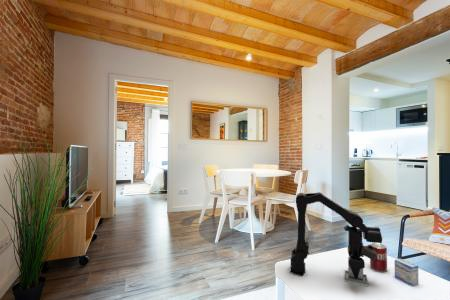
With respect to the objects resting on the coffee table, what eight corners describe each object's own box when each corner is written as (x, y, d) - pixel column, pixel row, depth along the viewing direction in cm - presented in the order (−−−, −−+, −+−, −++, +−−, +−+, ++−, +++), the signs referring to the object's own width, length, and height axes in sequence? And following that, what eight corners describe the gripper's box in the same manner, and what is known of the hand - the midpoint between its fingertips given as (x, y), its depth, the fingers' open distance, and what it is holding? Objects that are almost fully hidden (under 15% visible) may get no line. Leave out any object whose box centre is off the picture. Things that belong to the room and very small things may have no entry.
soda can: (390, 270, 114) (390, 247, 114) (380, 273, 112) (380, 249, 112) (376, 264, 121) (376, 241, 121) (366, 266, 118) (366, 244, 119)
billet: (348, 278, 106) (348, 263, 106) (348, 274, 110) (348, 260, 110) (363, 282, 103) (363, 266, 103) (362, 277, 107) (362, 262, 107)
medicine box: (394, 277, 109) (393, 259, 109) (400, 275, 110) (400, 257, 110) (412, 286, 101) (412, 267, 101) (419, 284, 103) (418, 265, 103)
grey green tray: (344, 281, 105) (344, 277, 105) (344, 274, 112) (344, 270, 112) (368, 287, 101) (367, 282, 101) (366, 278, 108) (366, 274, 108)
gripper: (378, 251, 95) (379, 288, 94) (373, 236, 111) (373, 267, 111) (348, 246, 100) (348, 281, 100) (347, 232, 116) (347, 262, 116)
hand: (355, 273), depth 106 cm, fingers open, 9 cm apart
